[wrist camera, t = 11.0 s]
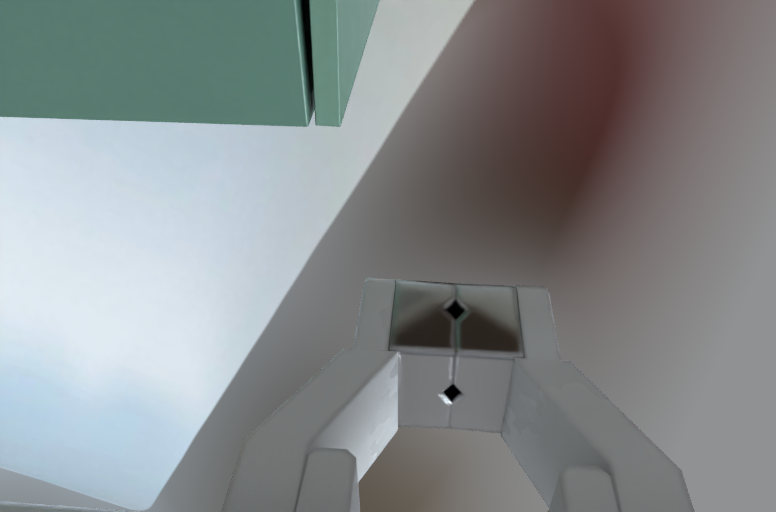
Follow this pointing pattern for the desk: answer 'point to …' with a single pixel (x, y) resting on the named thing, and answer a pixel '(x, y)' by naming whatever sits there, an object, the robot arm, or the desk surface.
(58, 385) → the desk surface
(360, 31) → the cabinet door
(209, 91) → the cabinet
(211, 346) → the desk surface
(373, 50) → the desk surface
